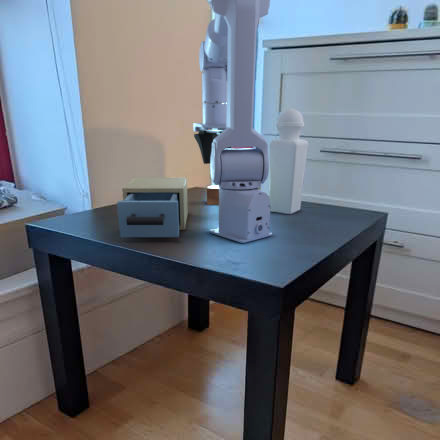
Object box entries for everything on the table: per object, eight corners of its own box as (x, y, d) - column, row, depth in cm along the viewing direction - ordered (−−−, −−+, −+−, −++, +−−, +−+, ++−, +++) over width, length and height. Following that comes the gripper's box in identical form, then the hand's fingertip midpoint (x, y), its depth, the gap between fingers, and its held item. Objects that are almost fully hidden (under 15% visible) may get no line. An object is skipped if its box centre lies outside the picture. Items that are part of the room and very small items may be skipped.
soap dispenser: (265, 211, 97) (270, 108, 88) (278, 206, 102) (284, 108, 93) (291, 215, 94) (299, 108, 85) (303, 209, 99) (311, 108, 90)
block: (222, 201, 107) (222, 185, 106) (222, 204, 104) (223, 188, 102) (206, 201, 107) (206, 185, 106) (206, 204, 104) (206, 188, 102)
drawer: (177, 244, 70) (175, 207, 68) (115, 245, 70) (111, 207, 67) (182, 220, 86) (181, 189, 83) (131, 220, 86) (129, 189, 83)
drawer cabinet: (184, 230, 82) (183, 188, 79) (125, 230, 82) (121, 188, 79) (187, 213, 95) (186, 177, 91) (136, 214, 94) (133, 177, 91)
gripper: (182, 103, 99) (184, 162, 104) (221, 103, 89) (221, 169, 94) (205, 103, 103) (206, 160, 109) (245, 103, 93) (244, 166, 98)
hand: (214, 164), depth 102 cm, fingers open, 5 cm apart
